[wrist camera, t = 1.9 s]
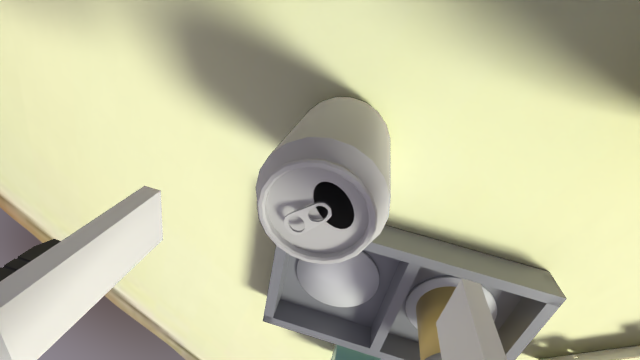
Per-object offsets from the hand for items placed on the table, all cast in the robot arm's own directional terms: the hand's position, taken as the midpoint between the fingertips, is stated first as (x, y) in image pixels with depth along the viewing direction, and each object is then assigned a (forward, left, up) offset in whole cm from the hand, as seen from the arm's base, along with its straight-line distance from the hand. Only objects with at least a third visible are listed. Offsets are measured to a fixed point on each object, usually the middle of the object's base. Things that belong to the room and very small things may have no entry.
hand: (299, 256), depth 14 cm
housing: (+14, +9, -15) cm, 22 cm away
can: (0, 0, -15) cm, 15 cm away
